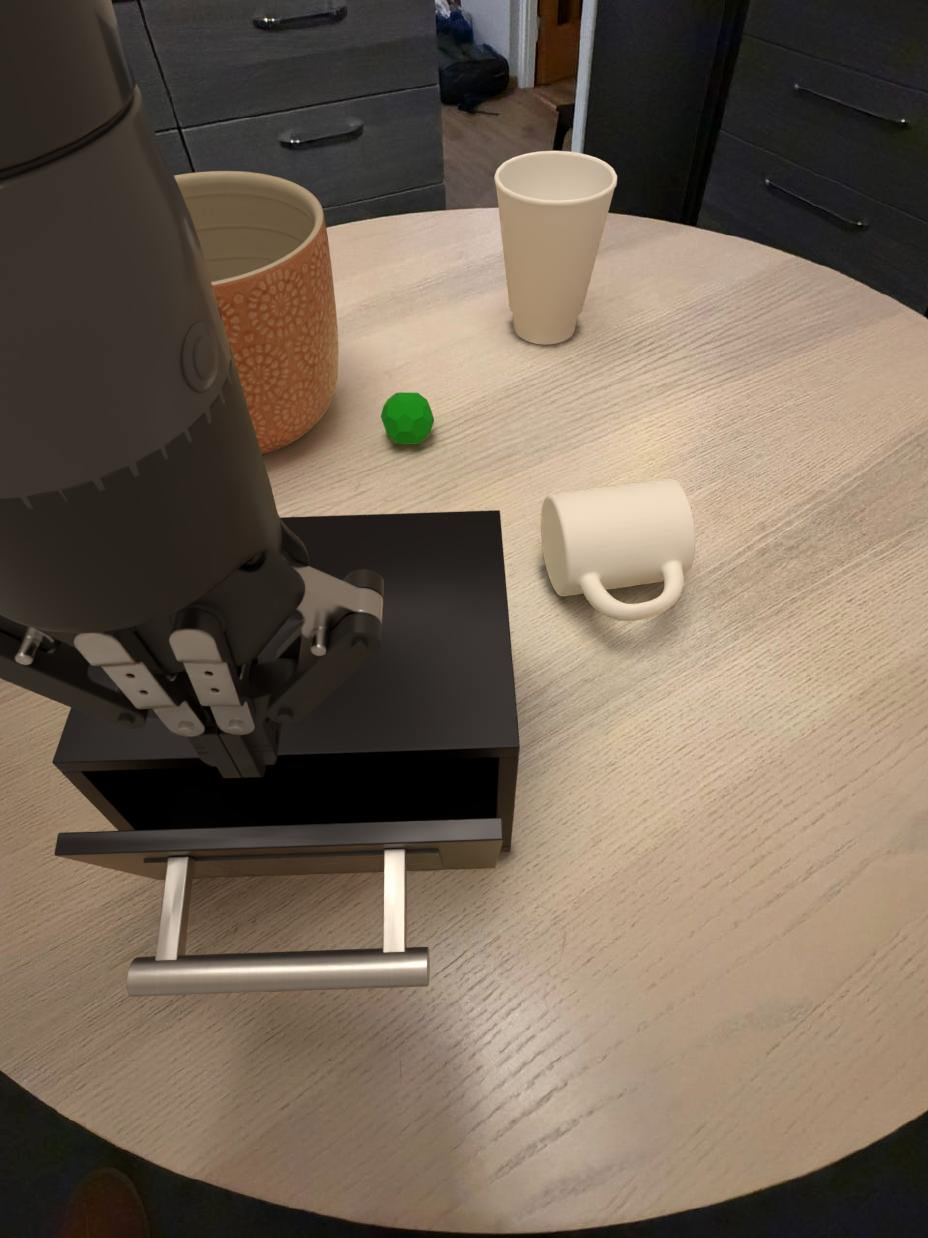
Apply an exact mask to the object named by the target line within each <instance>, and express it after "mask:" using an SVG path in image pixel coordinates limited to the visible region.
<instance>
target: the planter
mask: <svg viewBox="0 0 928 1238" xmlns="http://www.w3.org/2000/svg"><path fill="white" fill-rule="evenodd" d="M174 177H175V179H176V181H177V184H178V186H179V188H180V190H181V193H182V195H183V198H184V200H185V203H186V205H187V208H188V210H189V212H190V215H191V218H192V221H193V224H194V227H195V230H196V233H197V236H198V239H199V242H200V245H201V248H202V252H203V255H204V259H205V262H206V265H207V269H208V272H209V276H210V279H211V283H212V286H213V289H214V293H215V296H216V299H217V303H218V306H219V310H220V313H221V317H222V320H223V323H224V327H225V330H226V334H227V337H228V341H229V344H230V347H231V351H232V354H233V357H234V361H235V364H236V368H237V371H238V375H239V378H240V381H241V385H242V389H243V392H244V395H245V399H246V402H247V406H248V409H249V412H250V416H251V419H252V423H253V426H254V429H255V433H256V436H257V440H258V443H259V446H260V450H261V453H262V455H265V454H269V453H271V452H274V451H277V450H279V449H281V448H284V447H286V446H288V445H290V444H292V443H294V442H295V441H297V440H299V439H300V438H301V437H303V436H304V435H305V434H307V433H308V432H309V431H310V430H311V429H313V427H314V426H316V425H317V423H318V422H319V421H320V420H321V419H322V417H323V416H324V414H325V413H326V412H327V410H328V408H329V406H330V404H331V402H332V400H333V399H334V395H335V391H336V389H337V383H338V377H339V333H338V331H339V330H338V319H337V317H338V316H337V306H336V295H335V286H334V276H333V268H332V267H333V266H332V257H331V251H330V242H329V236H328V228H327V223H326V218H325V212H324V209H323V206H322V204H321V202H320V201H319V200H318V198H317V197H316V196H315V195H314V194H313V193H312V192H310V191H309V190H308V189H306V188H305V187H303V186H302V185H299V184H298V183H295V182H294V181H291V180H288V179H284V178H282V177H279V176H274V175H270V174H266V173H259V172H252V171H239V170H212V171H211V170H210V171H197V172H189V173H182V174H175V175H174Z"/></svg>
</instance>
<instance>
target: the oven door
mask: <svg viewBox="0 0 928 1238" xmlns="http://www.w3.org/2000/svg"><path fill="white" fill-rule="evenodd" d="M503 839H504V837H503V819H502V818H501V817H500V818H471V819H442V820H413V821H384V822H355V823H326V824H297V825H268V826H240V827H211V828H182V829H153V830H124V831H118V830H100V831H99V830H98V831H97V830H96V831H70V832H69V831H67V832H58V834H57V838H56V843H55V848H54V853H53V855H54V856H55V857H58V858H59V857H60V858H62V859H67V860H72V861H75V862H80V863H84V864H88V865H92V866H96V867H100V868H105V869H109V870H114V871H118V872H122V873H126V874H129V875H134V876H139V877H143V878H146V879H151V880H154V881H155V880H156V881H164V884H163V885H164V886H163V893H162V900H161V901H162V902H161V908H160V916H159V924H158V932H157V940H156V942H157V943H156V948H155V955H150V956H149V955H148V956H147V955H146V956H136V957H134V958H133V959H132V960H131V962H130V964H129V967H128V968H127V969H128V970H127V974H126V981H125V985H126V993H127V995H128V996H129V997H131V998H143V997H171V996H173V997H174V996H198V995H223V994H225V995H226V994H227V995H228V994H255V993H280V992H281V993H282V992H311V991H339V990H341V991H342V990H366V989H369V990H370V989H393V988H394V989H396V988H423V987H430V983H431V982H430V979H431V978H430V977H431V975H430V974H431V963H430V962H431V961H430V960H431V959H430V958H431V957H430V947H429V946H408V872H432V871H433V872H434V871H460V870H461V871H463V870H464V871H465V870H487V869H488V870H490V869H496V867H497V865H498V861H499V856H500V854H499V853H500V850H501V846H502V842H503ZM373 873H375V874H376V873H377V874H378V873H383V882H382V883H383V884H382V885H383V889H382V891H383V892H382V895H383V896H382V947H375V948H370V947H369V948H347V949H345V948H344V949H317V950H289V951H288V950H287V951H264V952H263V951H261V952H260V951H259V952H234V953H233V952H231V953H230V952H229V953H204V954H201V953H200V954H186V948H187V940H188V931H189V923H190V922H189V921H190V915H191V914H190V913H191V903H192V895H193V886H194V880H203V879H204V880H206V879H207V880H208V879H230V878H231V879H233V878H259V877H261V878H263V877H288V876H289V877H290V876H291V877H292V876H314V875H315V876H317V875H319V876H320V875H346V874H373Z"/></svg>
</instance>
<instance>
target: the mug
mask: <svg viewBox="0 0 928 1238" xmlns="http://www.w3.org/2000/svg"><path fill="white" fill-rule="evenodd" d="M695 524H696V523H695V518H694V513H693V510H692V505H691V502H690V500H689V497H688V495H687V493H686V491H685V489H684V487H682V485H681V484H680V483H679V482H678V481H677V480H675V479H674V478H670V477H667V478H659V479H652V480H645V481H638V482H637V481H636V482H629V483H624V484H616V485H608V486H602V487H593V488H586V489H579V490H571V491H563V492H556V493H549V494H547V495H546V496H545V497H544V499H543V501H542V506H541V511H540V535H541V543H542V544H541V545H542V552H543V558H544V564H545V567H546V572H547V576H548V578H549V581H550V584H551V587H552V588H553V590H554V592H555V593H556V594H557V595H558V596H560V597H568V596H575V595H576V596H577V595H581V594H583V595H584V597H585V599H586V601H588V602H589V604H590V605H591V606H592V607H593V608H594V609H595V610H596V611H597V612H598V613H600V614H602V615H603V616H605V617H607V618H610V619H611V620H612V619H613V620H616V621H622V622H623V621H624V622H635V621H641V620H646V619H649V618H653V617H655V616H658V615H660V614H662V613H664V612H665V611H667V610H669V609H670V608H671V607H672V606H674V605H675V604H676V603H677V602H678V600H679V599H680V597H681V595H682V593H683V590H684V586H685V577H686V576H687V575H688V573H689V572H690V571H691V568H692V566H693V563H694V559H695V556H696V555H695V554H696V545H697V543H696V542H697V541H696V539H697V538H696V537H697V535H696V525H695ZM662 582H664V584H663V585H664V586H663V591H662V593H660V595H659V596H657V597H655V598H653V599H652V600H648V601H644V602H638V603H627V602H626V603H625V602H622V601H620V600H618V599H616V598H615V597H614V596H612V595H611V593H609V592H608V590H615V589H621V588H627V587H628V588H629V587H635V586H636V587H637V586H642V585H647V584H648V585H649V584H656V583H662Z"/></svg>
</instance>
